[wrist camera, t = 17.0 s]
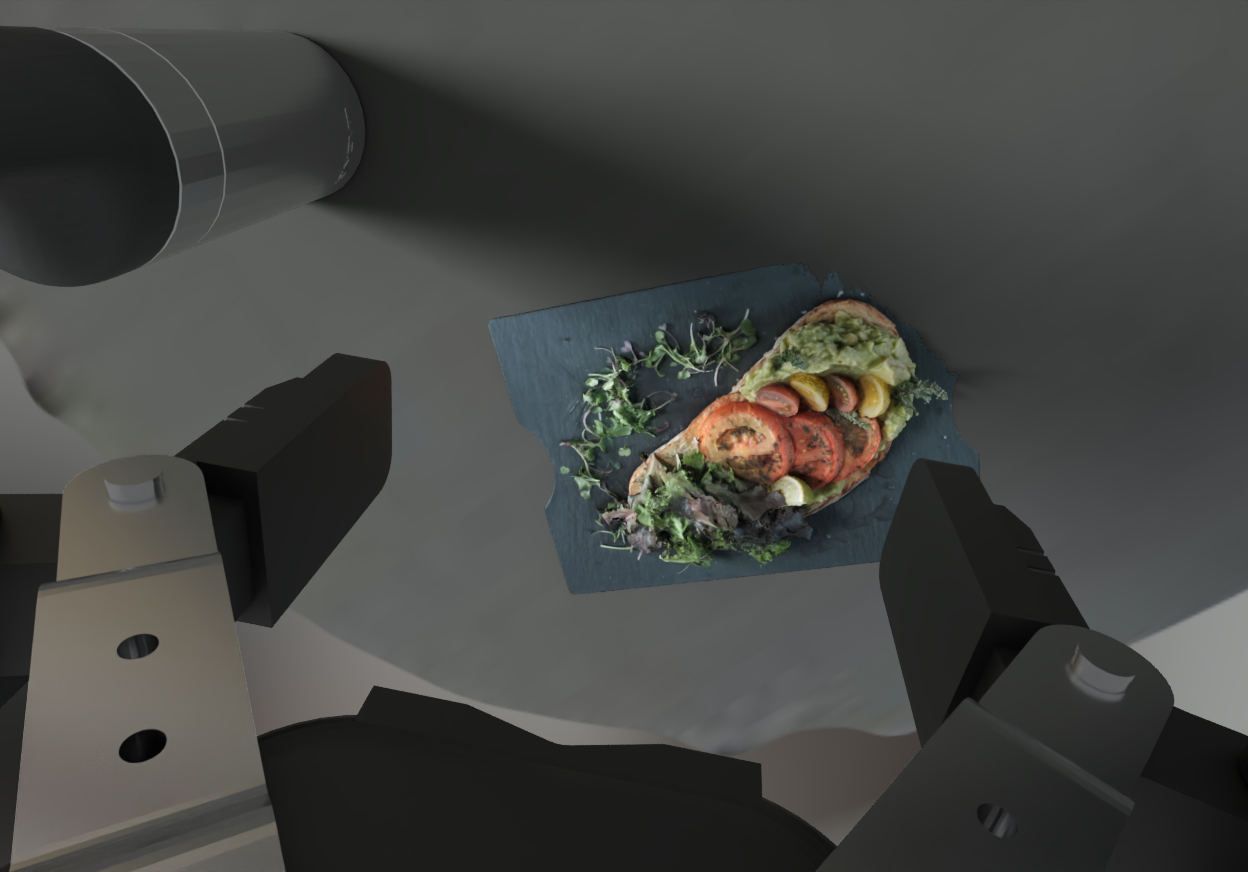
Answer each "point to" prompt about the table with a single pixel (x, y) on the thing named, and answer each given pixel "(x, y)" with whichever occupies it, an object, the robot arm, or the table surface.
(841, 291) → the plated dish
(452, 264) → the table surface
